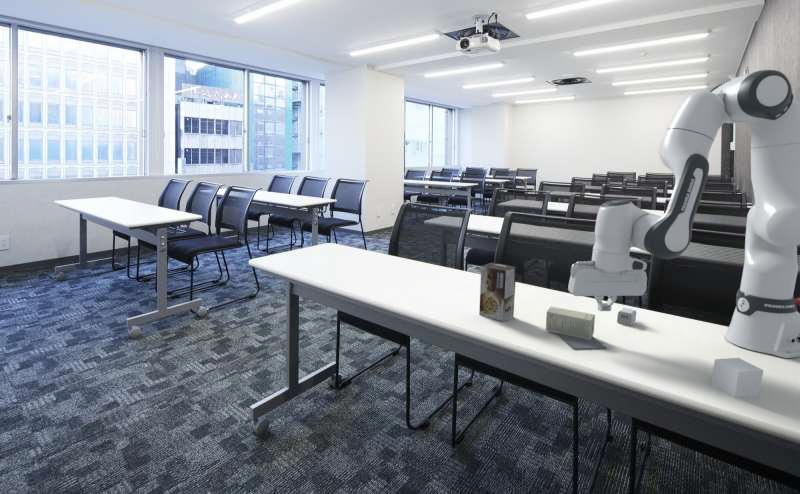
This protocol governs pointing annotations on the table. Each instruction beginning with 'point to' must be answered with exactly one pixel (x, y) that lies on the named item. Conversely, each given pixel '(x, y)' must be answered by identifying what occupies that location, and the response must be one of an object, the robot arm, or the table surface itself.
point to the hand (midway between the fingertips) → (604, 310)
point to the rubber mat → (582, 342)
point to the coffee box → (497, 291)
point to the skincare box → (570, 323)
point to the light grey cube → (737, 377)
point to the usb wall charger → (626, 316)
